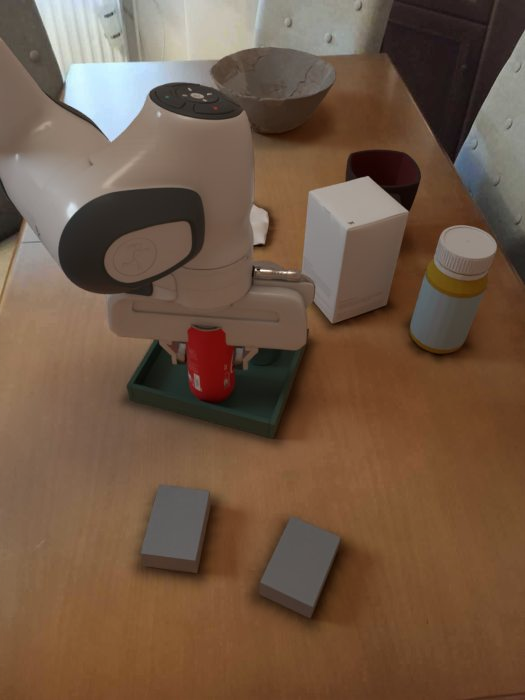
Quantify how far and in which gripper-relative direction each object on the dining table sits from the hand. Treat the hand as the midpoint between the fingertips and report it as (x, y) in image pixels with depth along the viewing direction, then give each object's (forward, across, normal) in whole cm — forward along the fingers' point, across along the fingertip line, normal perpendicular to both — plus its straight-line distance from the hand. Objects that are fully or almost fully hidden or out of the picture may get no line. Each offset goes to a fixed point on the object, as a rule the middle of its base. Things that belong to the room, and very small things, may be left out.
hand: (211, 362), depth 66 cm
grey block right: (+5, -11, +20) cm, 24 cm away
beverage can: (+5, 0, 0) cm, 5 cm away
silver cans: (+4, -2, -7) cm, 9 cm away
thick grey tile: (+5, +1, +18) cm, 18 cm away
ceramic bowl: (+5, -2, -66) cm, 67 cm away
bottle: (+5, -27, -12) cm, 30 cm away
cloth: (+5, +7, -34) cm, 35 cm away
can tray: (+5, -1, -3) cm, 6 cm away
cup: (+5, -20, -30) cm, 36 cm away
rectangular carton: (+5, -15, -19) cm, 25 cm away
